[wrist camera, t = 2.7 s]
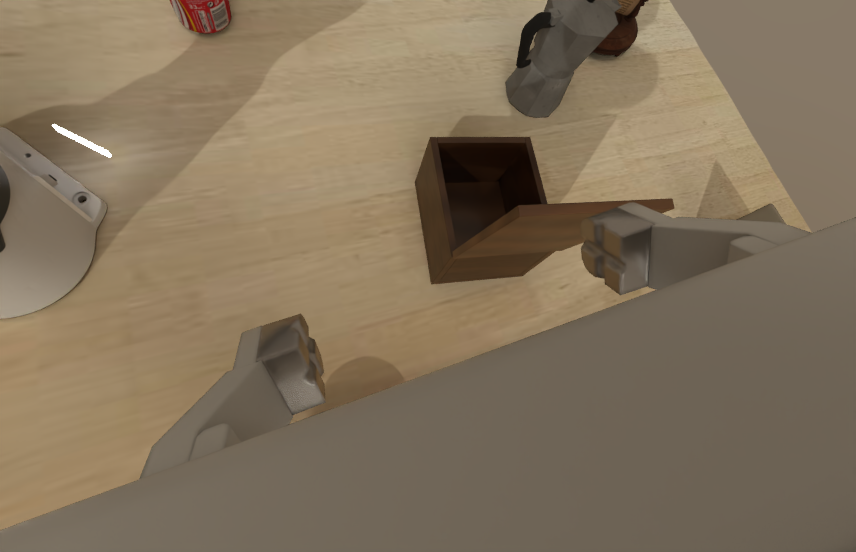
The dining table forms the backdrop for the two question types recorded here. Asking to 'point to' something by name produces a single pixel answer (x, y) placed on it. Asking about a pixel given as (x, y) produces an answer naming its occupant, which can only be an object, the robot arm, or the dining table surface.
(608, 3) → the coffeepot
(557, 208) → the lid
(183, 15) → the soda can
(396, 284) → the dining table surface
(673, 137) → the dining table surface
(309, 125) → the dining table surface
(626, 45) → the scroll
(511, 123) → the dining table surface
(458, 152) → the box
